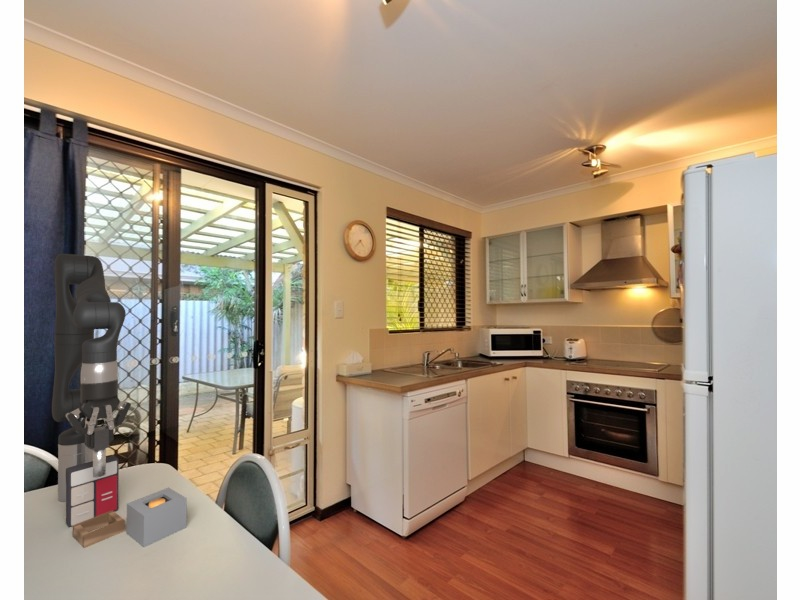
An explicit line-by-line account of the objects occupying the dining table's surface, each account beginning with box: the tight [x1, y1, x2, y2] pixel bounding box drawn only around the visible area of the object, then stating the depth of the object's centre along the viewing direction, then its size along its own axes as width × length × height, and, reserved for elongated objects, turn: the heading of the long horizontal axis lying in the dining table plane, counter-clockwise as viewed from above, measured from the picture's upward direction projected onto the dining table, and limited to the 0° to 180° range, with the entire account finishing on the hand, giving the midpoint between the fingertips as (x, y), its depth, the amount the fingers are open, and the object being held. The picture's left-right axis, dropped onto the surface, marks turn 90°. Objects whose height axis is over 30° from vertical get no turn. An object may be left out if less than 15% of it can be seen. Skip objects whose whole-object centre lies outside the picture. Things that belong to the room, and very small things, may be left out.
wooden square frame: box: [72, 510, 126, 549], centre depth 96 cm, size 8×8×3 cm
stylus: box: [92, 425, 110, 478], centre depth 96 cm, size 3×3×12 cm
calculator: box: [65, 455, 120, 528], centre depth 104 cm, size 11×4×15 cm, turn 142°
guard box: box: [126, 487, 188, 548], centre depth 97 cm, size 10×10×8 cm
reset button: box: [149, 498, 165, 508], centre depth 97 cm, size 4×4×5 cm
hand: (99, 445), depth 96 cm, fingers closed on stylus, 3 cm apart
